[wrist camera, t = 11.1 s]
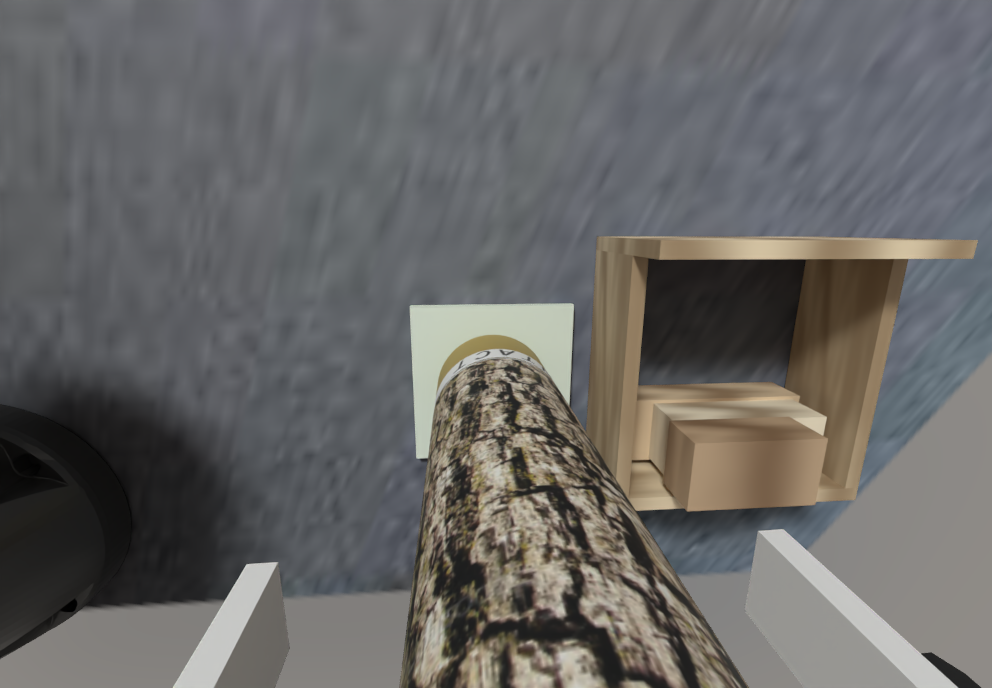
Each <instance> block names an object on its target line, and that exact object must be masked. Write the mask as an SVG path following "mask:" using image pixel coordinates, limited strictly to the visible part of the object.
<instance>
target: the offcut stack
mask: <svg viewBox="0 0 992 688" xmlns="http://www.w3.org/2000/svg"><path fill="white" fill-rule="evenodd" d="M799 399H800V396H799V395H797V394H795V393H793V392H791V391H789V390H787V389H785V388H783V387H781V386H778V385H776V384H774V383H772V382H752V383H714V384H677V385H639V386H638V391H637V403H636V415H635V427H634V439H633V451H632V460H652V462H653V463H654V464H655V465H656V466H657V467H658V469H659V470H660V471H661V472H662V473H663V475H664V479H663V483H664V484H665V485H666V486H667V488H668V489H669V490H670V491H671V492H672V494H673V495H674V496H675V497H676V499H677V500H678V501H679V502H680V503H681V505H682V506H683V507H684V508H685V510H686V511H706V510H726V509H746V508H766V507H786V506H806V505H815V503H816V498H817V493H818V487H819V482H820V477H821V472H822V467H823V462H824V457H825V452H826V447H827V442H828V438H826V437H824V436H823V435H824V430H825V424H826V419H827V417H826V416H824V415H822V414H820V413H818V412H816V411H814V410H812V409H810V408H808V407H806V406H804V405H802V404H800V403H799Z"/></svg>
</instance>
